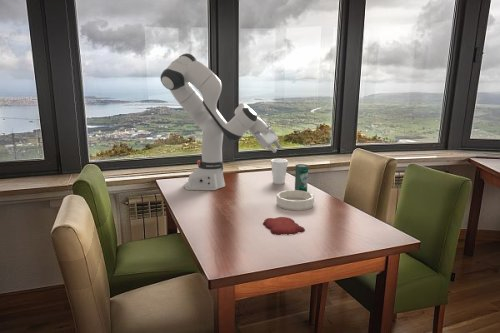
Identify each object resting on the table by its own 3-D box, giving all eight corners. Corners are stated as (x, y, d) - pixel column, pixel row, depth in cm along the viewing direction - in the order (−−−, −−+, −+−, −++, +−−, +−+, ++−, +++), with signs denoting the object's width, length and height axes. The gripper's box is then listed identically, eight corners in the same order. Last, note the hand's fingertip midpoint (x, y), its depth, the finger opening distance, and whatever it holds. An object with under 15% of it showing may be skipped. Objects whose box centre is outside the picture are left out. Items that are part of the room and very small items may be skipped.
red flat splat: (308, 233, 146) (308, 228, 145) (275, 238, 141) (275, 233, 141) (288, 217, 162) (288, 213, 161) (258, 221, 157) (258, 217, 157)
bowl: (282, 211, 168) (282, 202, 167) (273, 199, 184) (273, 191, 183) (318, 209, 171) (318, 200, 170) (306, 197, 187) (306, 189, 186)
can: (303, 196, 190) (305, 167, 187) (292, 194, 193) (293, 165, 190) (308, 193, 195) (309, 165, 192) (297, 191, 198) (299, 163, 195)
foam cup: (286, 185, 209) (286, 162, 206) (269, 184, 211) (270, 161, 208) (287, 180, 218) (288, 159, 215) (272, 180, 220) (272, 158, 217)
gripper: (257, 128, 181) (277, 149, 180) (269, 123, 200) (287, 142, 199) (249, 137, 184) (268, 158, 183) (261, 131, 202) (278, 150, 202)
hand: (278, 150), depth 191 cm, fingers open, 8 cm apart
